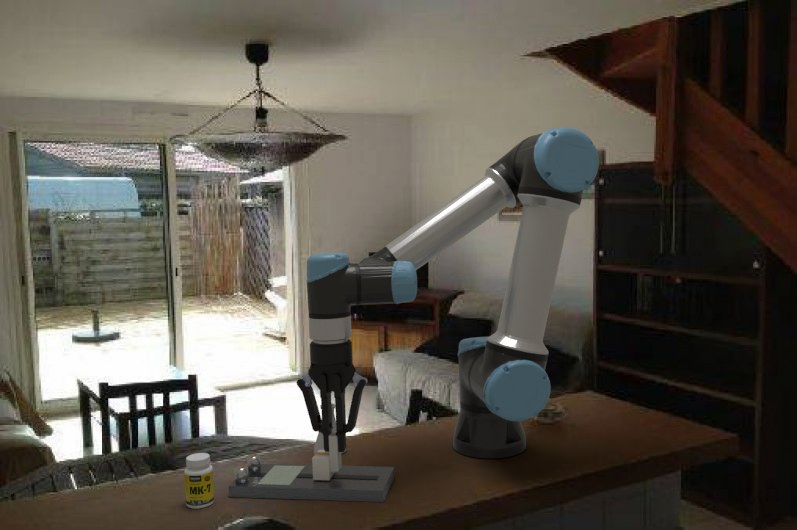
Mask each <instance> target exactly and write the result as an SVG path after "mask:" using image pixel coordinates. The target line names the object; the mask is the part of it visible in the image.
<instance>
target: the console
mask: <svg viewBox="0 0 797 530" xmlns="http://www.w3.org/2000/svg"><path fill="white" fill-rule="evenodd" d="M246 457H247V458H246V461H247V465H245V464H242V465H238V466H236V467H234V469H233V470H234V480H233V481H232V482H231V483H229V485H228V497H229V498H246V499H247V498H249V499H252V498H253V499H275V500H276V499H279V500H280V499H282V500H284V499H285V500H307V501H308V500H309V501H335V502H336V501H342V502H344V501H345V502H367V503H368V502H370V503H371V502H373V503H384V502H385V500H386V498H387V495H388V493H389V491H390V488H391V487H392V484H393V481H394V479H395V478H394V477H395V467H394V466H373V465H372V466H370V465H369V466H367V465H365V466H363V465H342V467H341V468H340V470H339V471H338V472H335V473H334V474H333V476H332V477H331V479H330V480H313V466H312V464H289V463H286V464H285V463H284V464H282V463H261V455H260V454H259V453H252V454H248V455H247V456H246Z"/></svg>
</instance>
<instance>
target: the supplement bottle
mask: <svg viewBox="0 0 797 530" xmlns="http://www.w3.org/2000/svg"><path fill="white" fill-rule="evenodd" d="M185 463H186V468H185V469H184V488H185V489H184V490H185V505H186V506H187V507H188V508H189V509H190V508H191V509H194V510H195V509H197V510H198V509H203V508H206V507H209V506H211V505H213V503H214V502H215V488H214V486H215V485H214V469H213V466H212V464H211V456H210V454H209V453H206V452H198V453H197V452H196V453H192V454H189V455H188V456H186V458H185Z"/></svg>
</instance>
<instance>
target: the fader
mask: <svg viewBox="0 0 797 530" xmlns="http://www.w3.org/2000/svg"><path fill="white" fill-rule="evenodd" d="M311 462H312V463H311V465H312V466H313V480H330V479H331V477H332V476H333V474H334V473H335V472H330V456H329V452H325V450H318V451H317V452H316V453H315V455H313V456H312V458H311Z"/></svg>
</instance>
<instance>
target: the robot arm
mask: <svg viewBox="0 0 797 530" xmlns="http://www.w3.org/2000/svg"><path fill="white" fill-rule="evenodd" d="M599 159H600V158H599V152H598V150H597V148H596V145H595V144H594V142H593V141H592V139H591V138H590V137H589V136H588V135H587V134H586V133H584V132H583V131H581V130H579V129H576V128H573V127H554V128H550V129H548V130H546V131H544V132H542V133H538V134H534V135H531V136H529V137H526V138H525V139H522V140H521V141H520V142H519V143H517V144H516V145H515V146H514V147H513V148H511V150H509V151H508V152H507V153H506V154H504V155H502V157H500V158H499V159H498V160H497V161H495V162H494V163H492V164H491V165H490V166H489V167H487V168H486V169H485V172H484V176H483V177H482V178H480V179H479V180H478V181H476V182H475V183H473V184H472V185H471V186H469V187H467V188H466V189H465V190H463V191H462V192H460V193H459V194H457V195H456V196H455V197H453V198H452V199H450V200H449V201H448V202H446V203H445V204H444V205H442V206H440V207H439V208H438V209H436V210H435V211H433V212H432V213H430V214H428V216H427V217H424V218H423V219H421V220H420V221H419V222H418V223H416V224H415V225H413V226H412V227H411V228H409V229H408V230H406V231H405V232H403V233H402V234H401V235H399V236H398V237H396V238H395V239H393V240H392V241H391V242H389V243H387V244H386V245H385V246H384V247H382V248H380V249H379V250H378V251H376V252H375V253H373V254H372V255H371V256H367V257H364V258H363V259H361V260H360V261H359V262H358V263H353V262H351V261H350V260H349V255H348V254H347V253H345V252H324V253H323V252H322V253H314V254H310V255H309V257H308V258H307V261H306V292H307V309H308V311H307V312H308V337H309V339H310V340H312V341H311V342H310V343H309V357H310V358H309V360H310V366H309V368H308V371H307V372H308V373H307V374H306V375H304V376H301V377H300V378H299V379H297V380H296V385H297V387H298V388H299V390H300V391H301V393H302V396H303V399H304V400H303V401H304V403H305V406H306V410H307V415H308V417H309V420H310V425H311V428H312V430H313V431H314V432H318V433H319V432H321V433H322V434H323V439H324V450H325V452H329V456H330V472H338V471H339V470H340V468H341V467H342V466H343V464H342V454H341V452H344V451H345V449H346V450H347V434H348V433H351V432H353V430H354V429H355V427H356V426H357V421H358V416H359V412H360V411H359V410H360V407H361V401H362V396H363V392H364V388H365V387H366V385H367V383H368V382H369V378H368V377H367V376H362V375H361V374H358V373H357V369H356V367H355V366H354V362H353V342H352V340H351V339H350V338H351V337H352V336H353V335H352V315H351V314H352V313H351V311H352V310H351V307H352V306H361V305H364V306H365V305H366V306H367V305H388V304H389V305H390V304H396V305H400V304H403V303H404V304H405V303H411V302H413V301H414V300H415V299H416V298H417V293H418V275H417V270H418V269H420V268H421V267H423V266H424V265H426V264H427V263H428V262H430V261H432V260H433V259H434V258H436V257H437V256H439V255H440V254H441V253H442V252H444V251H445V250H447V249H448V248H450V247H451V246H452V245H454V244H456V243H457V242H458V241H460V240H461V239H462V238H464V237H465V236H467V235H468V234H470V233H471V232H473V231H474V230H475V229H476V228H478V227H479V226H481V225H482V224H484V223H485V222H487V221H488V220H489V219H491V218H493V217H494V216H495V215H496V214H498V213H499V212H501V211H502V210H504V209H506V208H509V209H510V208H511V209H514V208H515V207H516V206H518V205H520V204H522V211H521V217H520V221H519V227H518V230H517V235H516V239H515V244H514V245H515V246H514V249H513V253H512V257H511V258H512V259H511V263H510V268H509V272H508V273H509V274H508V277H507V278H508V279H507V283H506V288H505V293H504V297H503V301H502V302H503V303H502V306H501V310H500V311H501V312H500V316H499V320H498V325H497V329H496V331H495V332H494V333H492V334H491V335H490V336H477V337H469V338H463V339H462V340H460V342H459V343H458V352H457V357H458V376H459V379H458V380H459V406H460V407H459V409H460V410H459V413H458V416H457V420H456V424H455V426H454V431H453V434H452V446H453V447H452V448H453V449H454V450H455V451H456V452H457V453H458V454H462V455H463V456H467V457H470V458H479V459H503V458H509V457H510V458H511V457H513V456H517V455H519V454H521V453H522V452H524V451H525V450H526V449H527V436H526V433H525V430H524V426H523V424H522V421H523V422H524V421H527V420H529V419H531V418H533V417H535V416H536V415H538V414H540V412H541V411H543V409H544V408H545V407H546V405H547V403H548V401H549V398H550V395H551V388H552V387H551V386H552V385H551V381H550V378H549V375H548V373H547V372H546V367H547V362H548V357H549V353H550V352H549V350H548V348H547V347H546V345H545V344H544V337H545V331H546V326H547V322H548V317H549V313H550V307H551V303H552V298H553V294H554V289H555V284H556V279H557V275H558V270H559V266H560V260H561V256H562V251H563V247H564V242H565V237H566V235H567V234H566V233H567V230H568V229H567V228H568V223H569V220H570V219H569V218H570V215H572V214H573V213H574V212H576V211H577V210H579V209H580V207H581V204H582V203H581V202H582V199H583V194H584V189H587V187H589V186H590V185H591V184H592V183H593V181H594V180H595V178H596V176H597V174H598V171H599V166H600V160H599ZM352 380H353V383H352V387H354V390H353V393H352V397H351V402H350V407H349V413H348V417H346V416H347V415H346V414H347V413H346V389H347V387H348V385H349V384H350V383H351V381H352ZM313 383H314V384H315V385H316V387H317V388H318V390H319V398H320V403H321V408H320V410H321V413H320V410H319V406H318V403H317V399H316V396H315V392H314V389H313V386H312V385H313ZM332 394H333V396H334V397H333V398H334V404H335V408H334V410H335V420H336V431H332V429H333V427H332V406H331V403H332ZM344 453H345V452H344Z"/></svg>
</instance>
